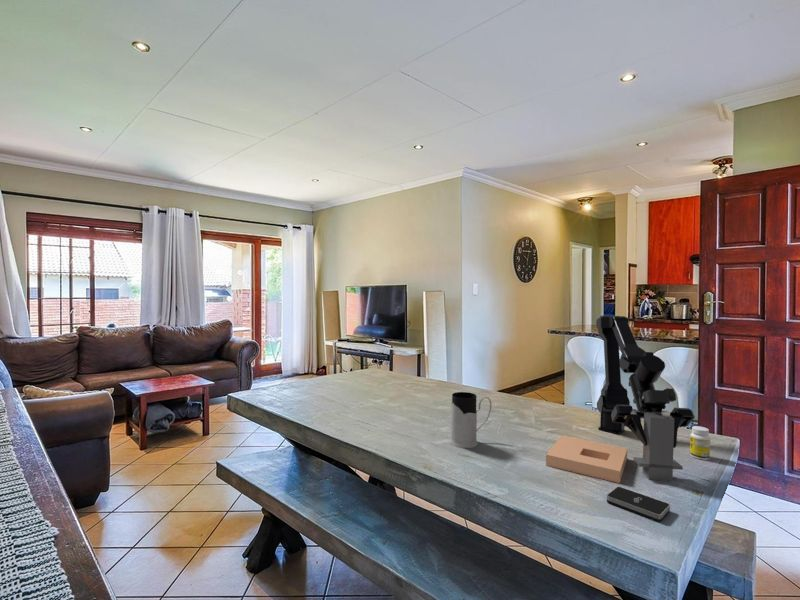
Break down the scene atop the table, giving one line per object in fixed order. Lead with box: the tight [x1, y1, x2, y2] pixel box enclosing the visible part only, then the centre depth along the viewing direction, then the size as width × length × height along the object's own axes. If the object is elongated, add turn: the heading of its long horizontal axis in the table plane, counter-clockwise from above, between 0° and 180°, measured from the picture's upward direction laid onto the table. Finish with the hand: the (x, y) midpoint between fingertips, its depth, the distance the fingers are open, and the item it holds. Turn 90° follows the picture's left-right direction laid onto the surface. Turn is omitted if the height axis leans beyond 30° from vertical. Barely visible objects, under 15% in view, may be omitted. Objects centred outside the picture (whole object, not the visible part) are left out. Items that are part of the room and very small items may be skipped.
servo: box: [633, 410, 684, 482], centre depth 107 cm, size 10×4×17 cm, turn 80°
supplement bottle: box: [689, 425, 711, 461], centre depth 121 cm, size 5×5×8 cm
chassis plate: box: [545, 434, 628, 484], centre depth 116 cm, size 18×18×3 cm
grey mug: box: [449, 391, 492, 449], centre depth 131 cm, size 9×14×15 cm, turn 111°
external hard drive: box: [606, 486, 671, 523], centre depth 93 cm, size 7×11×2 cm, turn 42°
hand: (660, 446), depth 106 cm, fingers open, 6 cm apart
